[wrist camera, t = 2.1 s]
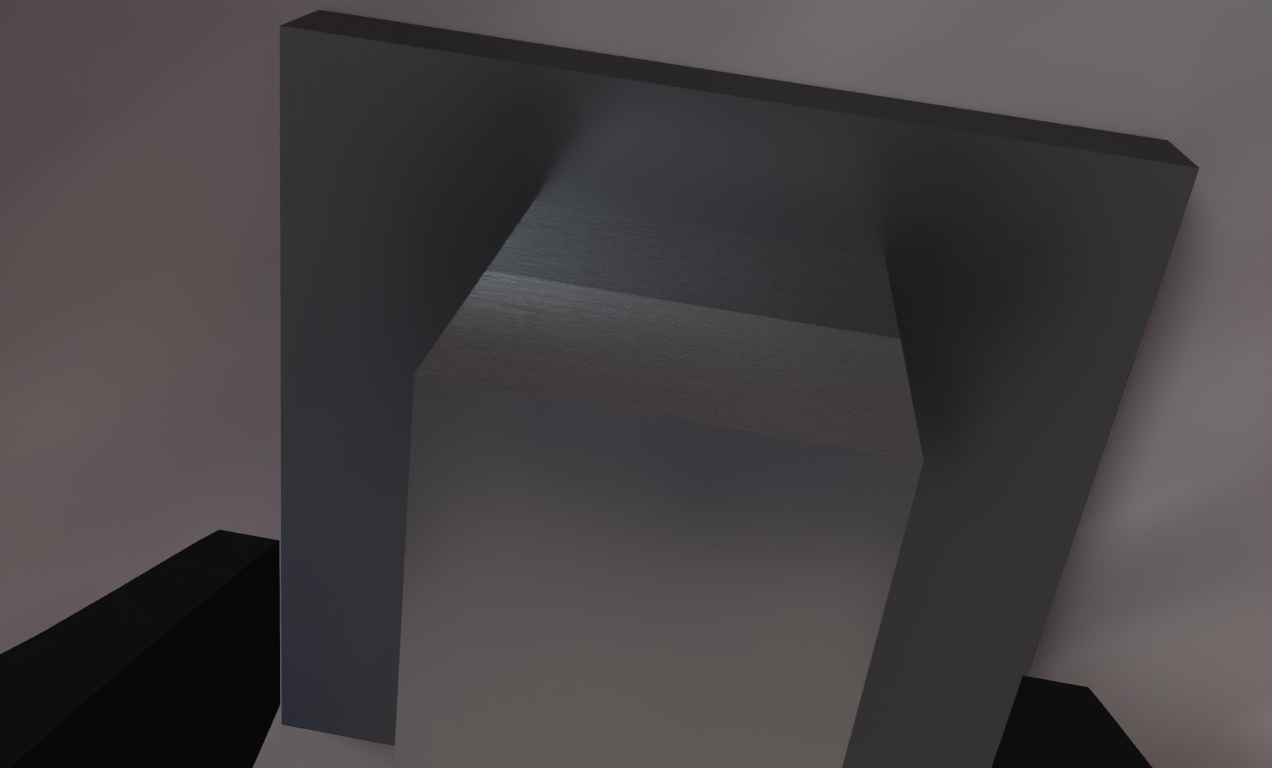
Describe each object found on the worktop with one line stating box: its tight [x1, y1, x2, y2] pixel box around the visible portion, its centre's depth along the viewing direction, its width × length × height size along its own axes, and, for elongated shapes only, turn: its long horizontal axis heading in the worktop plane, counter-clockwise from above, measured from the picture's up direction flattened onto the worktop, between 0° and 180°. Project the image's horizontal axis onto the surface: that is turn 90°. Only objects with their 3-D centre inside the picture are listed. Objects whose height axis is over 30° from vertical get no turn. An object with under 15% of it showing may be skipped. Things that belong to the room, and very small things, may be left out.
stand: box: [280, 10, 1199, 768], centre depth 16 cm, size 10×10×1 cm
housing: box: [394, 200, 924, 768], centre depth 13 cm, size 7×4×5 cm, turn 173°
